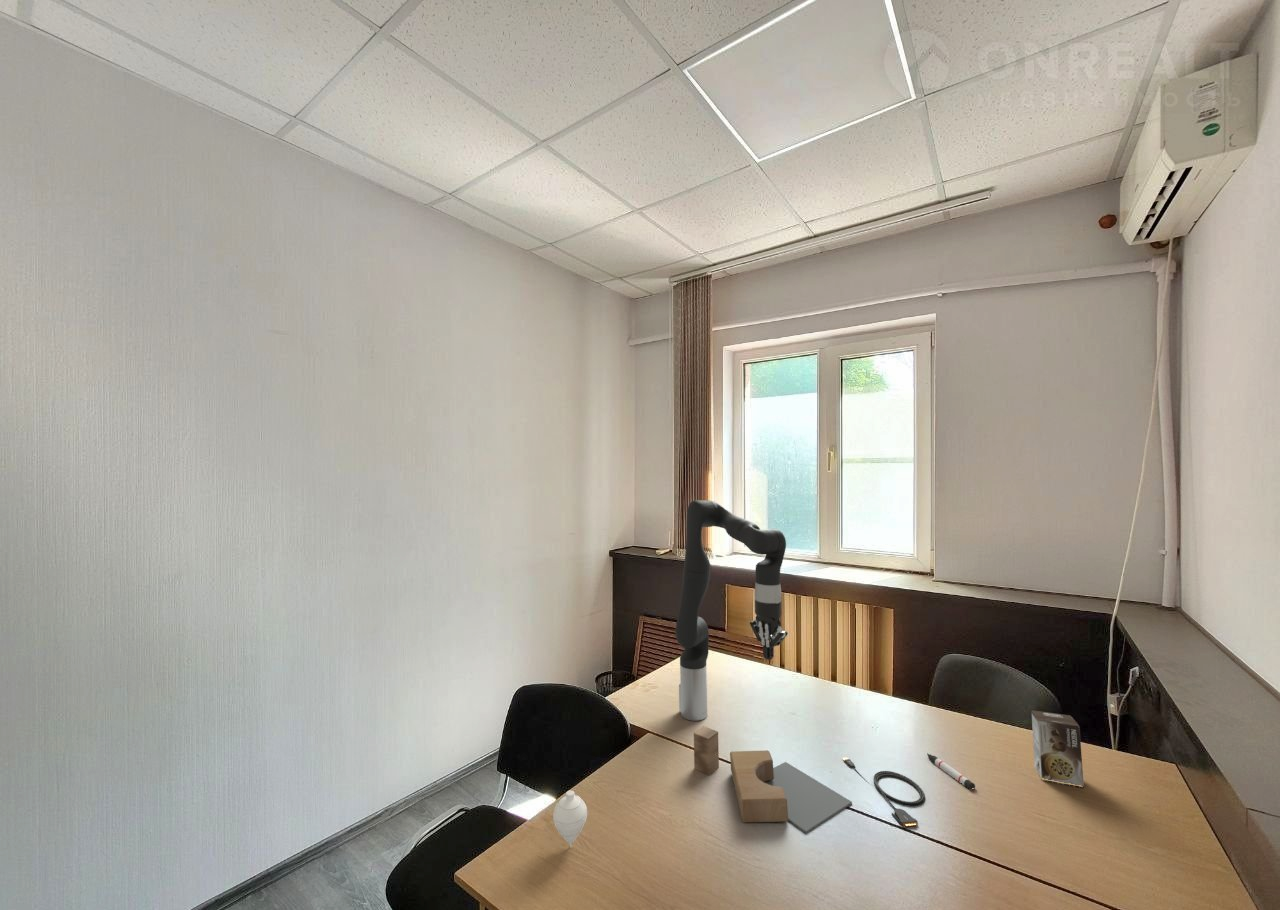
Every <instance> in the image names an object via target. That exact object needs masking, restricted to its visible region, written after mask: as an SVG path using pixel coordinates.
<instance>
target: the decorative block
mask: <svg viewBox="0 0 1280 910" xmlns="http://www.w3.org/2000/svg"><path fill="white" fill-rule="evenodd" d="M729 756H730V757H729V759H730V771H731V775H732V780H733V781H732V782H733V785H734V790H735V794H736V799H737V803H738V808H739V813H740V817H741V821H742V822H743V823H770V822H771V823H775V822H777V823H780V822H789V821H788V808H787V799H786V796H785V793H784V790H783V788H782V787H779V786H771V785H769V784H766V783H764V782H765V781H769V780H773V779H774V772H773V768H774V760H773V757H772V754H771V752H770V750H738V751H730V753H729Z"/></svg>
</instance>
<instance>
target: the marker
mask: <svg viewBox="0 0 1280 910" xmlns="http://www.w3.org/2000/svg"><path fill="white" fill-rule="evenodd" d="M926 754H927V757H928V759H929V760H930V762H931V763H932V764H934V765H935V766H936V767H938V768H939V769H941V770H942V771H943V772H945V773H946V774H948V775H949V776H950V777H952V778H953V779H954V778H955V779H954V780H956V781H957V782H958V781H959V782H958V783H960V784H961V783H962V784H961V785H963V786H964V787H966V788H967V789H968V788H969V789H968V790H970V789H972V788H975V789H976V784H975V783H974V782H972V781H971V780H970V779H968V778H967V777H966V776H965V775H963V774H961V773H960V772H958V771H957V770H956V769H955V768H953V767H952V766H950V765H949V764H947V763H946V762H944V761H943V760H941V759H940V758H939V757H937V756H935V755H932V754H930V753H928V752H927V753H926ZM972 790H973V789H972Z"/></svg>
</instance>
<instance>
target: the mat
mask: <svg viewBox="0 0 1280 910" xmlns="http://www.w3.org/2000/svg"><path fill="white" fill-rule="evenodd" d="M773 772H774V779H773V780H769V781H765V782H764V783H766V784H769V785H771V786H779V787H782V788H783V790H784V793H785V796H786V799H787V808H788V821H787V822H790V823H791V824H792V825H794V827H796V828H798V829H799V830H800V831H802V832H803V833H804V834H808V833H809V832H811V831H812V830H814V829H815V828H817V827H819V826H820V825H822V824H823V823H824V822H826V821H827V820H829V819H831V818H833V816H835V815H838V814H839V813H840V812H841V811H843V810H844V809H847V808H848V807H849V806H851V805H853V802H852V801H851V800H850V799H848V798H846V797H844V796H843V795H842V794H839V793H838V792H836V791H835V790H833V789H832V788H830V787H828V786H826V785H825V784H823V783H821V782H820V781H818V780H817V779H815V778H813V777H811V776H810V775H808V774H807V773H805V772H803V771H801V770H800V769H798V768H797V767H795V766H793V765H792V764H790V763H789V762H787V761H784V762H782V763H780V764H779V765H777V766H775V767H774V766H773Z"/></svg>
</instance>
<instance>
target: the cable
mask: <svg viewBox="0 0 1280 910" xmlns="http://www.w3.org/2000/svg"><path fill="white" fill-rule="evenodd" d="M842 761H843V763H845V764H846V766H847V767H849V768H850V769H853V770H854V771H855V772H856V773H857V774H858V775H859V776H860V777H861V778H862V779H863V780H864V781H865V782H866V783H868V780H866V779H865V778H864V777H863V776H862V774H860V772H859V771H858V770H857V769H856V766H855V764H854V762H852V761H851V759H850V758H848V757H842ZM884 778H894V779H898V780H900V781H903V782H905V783H907V784H909V785H910V786H912V788H914V790H915V789H916V791H917V793H918V794H919V798H918V799H917V800H914V801H906V800H902V799H899V798H896V797H893V796H891V795H890V794H888V793H887V792H886V791H884V790H883V789H882V788H881V787H880V785H879V781H880V780H881V779H884ZM869 785H871V784H870V783H869ZM873 785H874V786H875V789H876V790H877V792H879V793H880V794H881V795H882V796H883V797H884V798H885V800H886V801H887V802H888V803H889V804H890V806H891V807H892V808H893V809H894V810H893V811H894V813H893V812H892V813H891V815H892V817H893V818H894V819H895V821H897V822H898V823H899V825H900V827H902V828H906V829H908V828H910V827H915V828H917V827H918V826H919V825H918V820H917V819H916V818H914V817H913V816H912V815H910V814H909V813H908V812H906V810H905V809H903V808H896V807H895V806H894V804H893V803H896V804H898V805H901V806H905V807H912V808H913V807H914V808H915V807H920V806H923V804H924V803H925V801H926V795H925V792H924V791H923V788H921V786H920V785H919V784H917V783H916V782H915V781H914V780H913V779H911V778H909V777H907V776H906V775H903V774H901V773H899V772H895V771H890V770H883V771H881V770H880V771H878V772H876V773H874V775H873ZM871 786H872V785H871ZM891 801H892V802H893V803H892V802H891Z"/></svg>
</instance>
